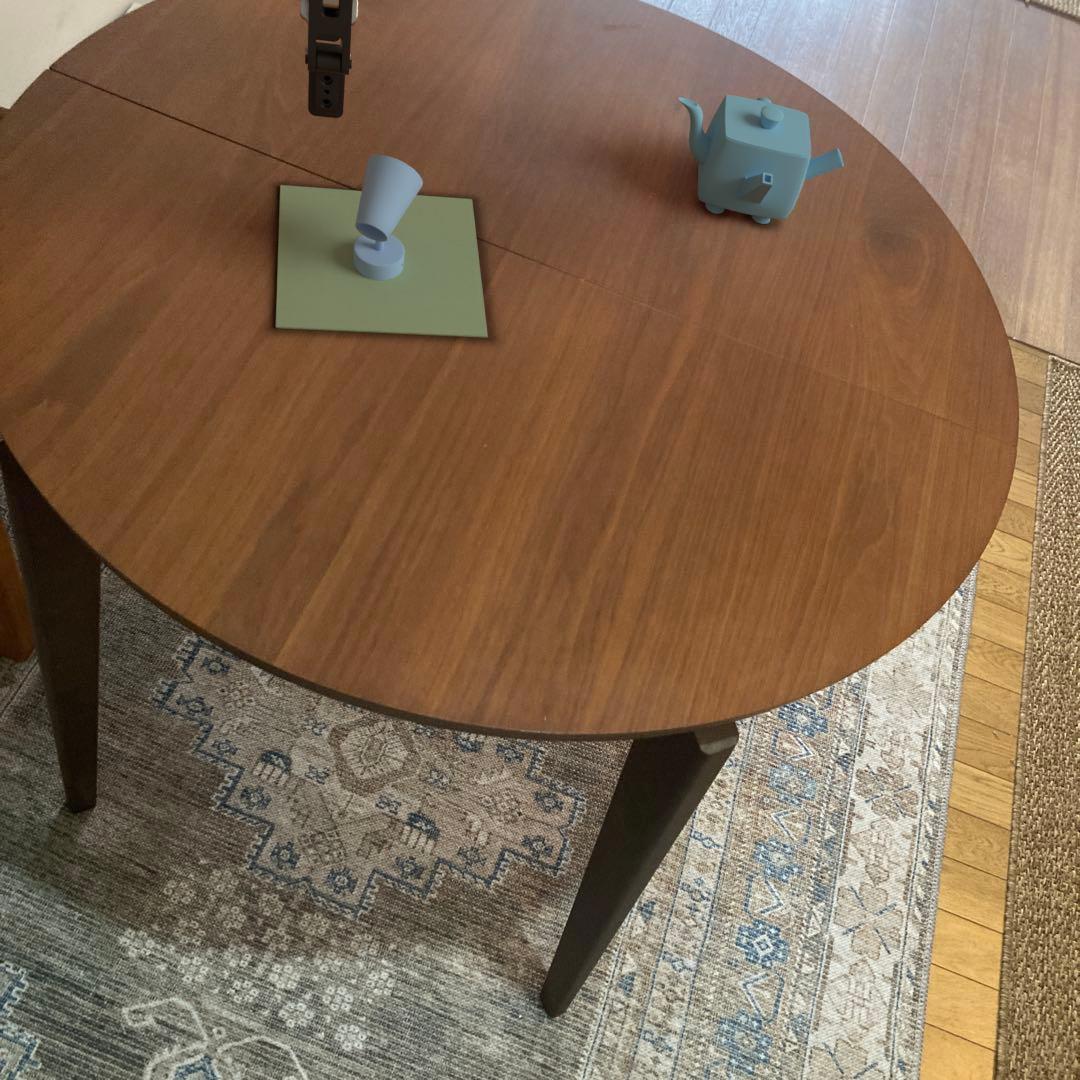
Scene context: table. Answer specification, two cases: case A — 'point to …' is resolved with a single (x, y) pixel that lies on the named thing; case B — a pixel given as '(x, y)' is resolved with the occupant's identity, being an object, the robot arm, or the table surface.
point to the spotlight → (383, 216)
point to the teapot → (754, 157)
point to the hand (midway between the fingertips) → (324, 74)
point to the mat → (378, 305)
